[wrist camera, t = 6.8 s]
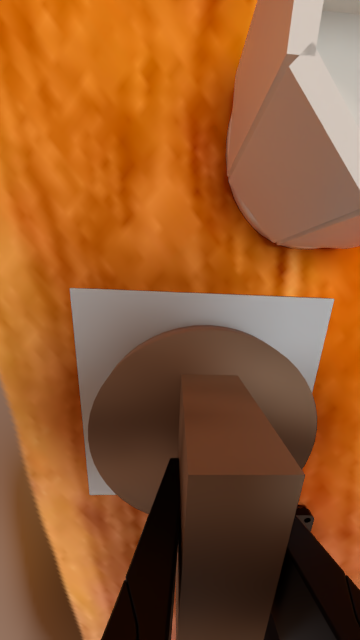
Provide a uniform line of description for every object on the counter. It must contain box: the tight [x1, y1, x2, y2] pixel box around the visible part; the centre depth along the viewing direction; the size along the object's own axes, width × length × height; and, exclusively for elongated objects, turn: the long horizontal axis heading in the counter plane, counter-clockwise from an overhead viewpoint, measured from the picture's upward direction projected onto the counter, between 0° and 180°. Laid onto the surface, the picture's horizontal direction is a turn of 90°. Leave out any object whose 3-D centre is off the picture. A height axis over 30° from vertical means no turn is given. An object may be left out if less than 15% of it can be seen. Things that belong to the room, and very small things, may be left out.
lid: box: [88, 325, 317, 640], centre depth 7 cm, size 11×11×5 cm
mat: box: [70, 288, 334, 495], centre depth 11 cm, size 14×14×1 cm
